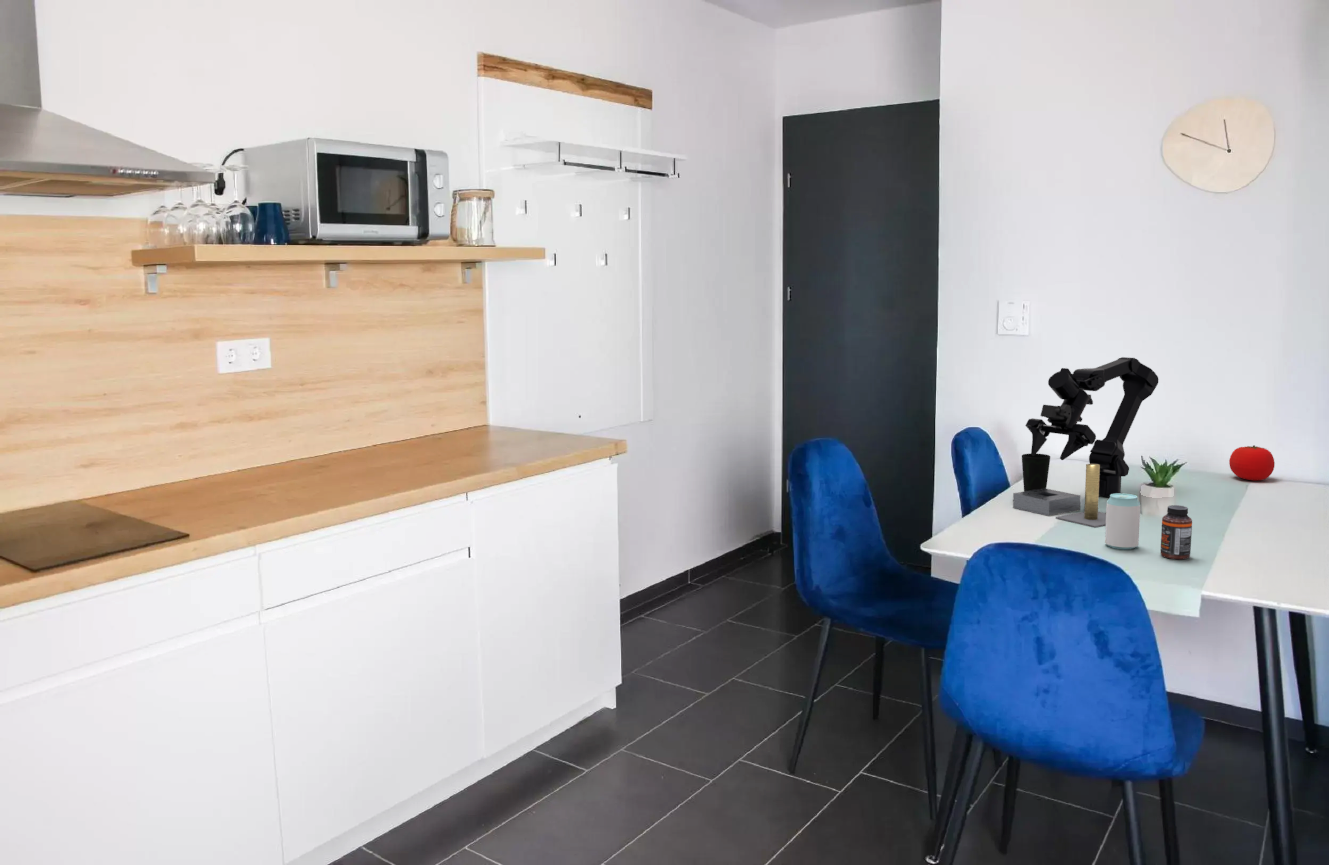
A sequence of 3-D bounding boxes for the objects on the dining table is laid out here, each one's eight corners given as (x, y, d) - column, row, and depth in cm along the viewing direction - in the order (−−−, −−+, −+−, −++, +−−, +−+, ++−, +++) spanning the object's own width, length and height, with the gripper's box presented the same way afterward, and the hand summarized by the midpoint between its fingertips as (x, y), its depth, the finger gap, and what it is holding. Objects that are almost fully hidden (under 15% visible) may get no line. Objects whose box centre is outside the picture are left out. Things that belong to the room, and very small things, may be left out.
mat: (1091, 511, 265) (1091, 510, 265) (1131, 520, 254) (1132, 518, 254) (1055, 518, 258) (1055, 516, 258) (1095, 527, 248) (1095, 526, 248)
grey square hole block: (1043, 502, 278) (1044, 488, 277) (1079, 510, 267) (1080, 495, 266) (1013, 507, 272) (1013, 493, 271) (1048, 515, 261) (1049, 500, 261)
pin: (1089, 516, 258) (1091, 463, 256) (1100, 518, 255) (1102, 465, 253) (1081, 518, 257) (1083, 464, 254) (1092, 520, 254) (1094, 466, 252)
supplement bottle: (1154, 553, 223) (1156, 504, 222) (1179, 552, 224) (1182, 503, 222) (1170, 560, 217) (1172, 510, 216) (1196, 559, 218) (1198, 509, 216)
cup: (1051, 500, 280) (1052, 458, 278) (1022, 499, 282) (1023, 457, 280) (1046, 494, 287) (1047, 453, 286) (1018, 494, 289) (1019, 453, 287)
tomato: (1282, 483, 296) (1284, 448, 294) (1242, 483, 296) (1244, 449, 294) (1258, 475, 307) (1260, 442, 306) (1220, 476, 308) (1222, 442, 306)
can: (1141, 550, 226) (1144, 499, 224) (1108, 549, 227) (1110, 498, 226) (1134, 543, 233) (1136, 492, 231) (1101, 542, 234) (1103, 492, 233)
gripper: (1028, 389, 275) (1003, 436, 272) (1087, 395, 259) (1061, 445, 256) (1048, 412, 281) (1023, 458, 277) (1107, 418, 265) (1082, 468, 262)
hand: (1046, 457), depth 268 cm, fingers open, 9 cm apart
